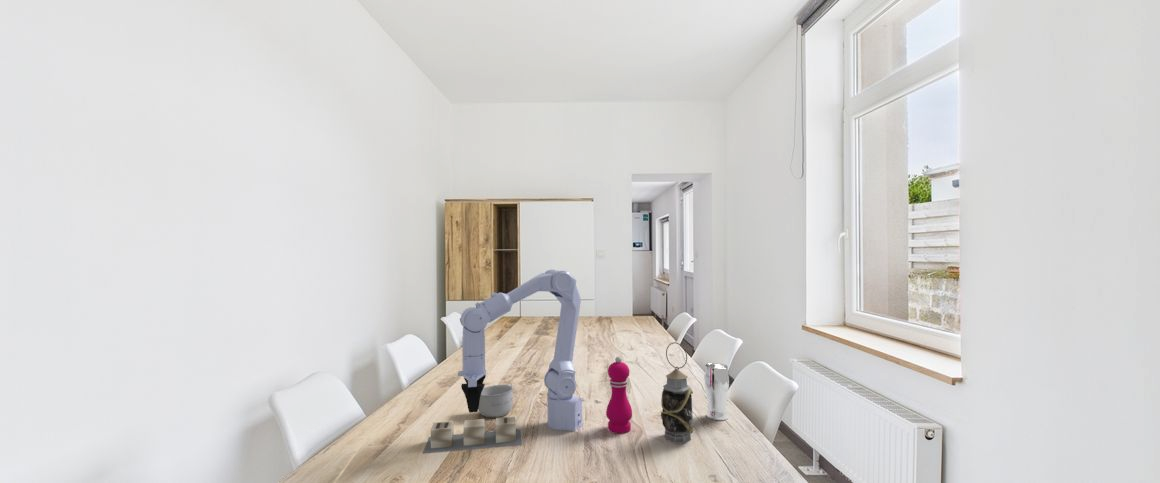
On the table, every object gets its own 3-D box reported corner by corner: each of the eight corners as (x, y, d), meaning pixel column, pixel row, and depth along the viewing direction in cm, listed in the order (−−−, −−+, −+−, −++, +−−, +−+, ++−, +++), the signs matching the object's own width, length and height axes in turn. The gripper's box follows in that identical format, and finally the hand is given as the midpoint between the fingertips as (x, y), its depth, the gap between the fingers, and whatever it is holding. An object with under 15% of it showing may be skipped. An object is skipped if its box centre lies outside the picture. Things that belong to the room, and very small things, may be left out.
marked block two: (453, 438, 118) (453, 420, 118) (451, 446, 113) (451, 428, 113) (433, 440, 117) (433, 422, 118) (430, 448, 112) (430, 429, 113)
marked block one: (515, 433, 121) (514, 416, 121) (515, 441, 116) (515, 423, 116) (496, 435, 120) (495, 417, 120) (495, 442, 115) (495, 424, 115)
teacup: (493, 425, 129) (493, 396, 130) (469, 417, 136) (469, 390, 136) (527, 411, 140) (527, 385, 141) (503, 404, 147) (503, 379, 147)
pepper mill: (631, 435, 121) (630, 360, 121) (604, 433, 122) (603, 359, 123) (633, 425, 128) (632, 354, 129) (608, 423, 130) (607, 353, 130)
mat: (520, 432, 124) (520, 429, 124) (522, 448, 114) (522, 444, 114) (429, 439, 120) (429, 436, 120) (422, 456, 110) (422, 453, 110)
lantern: (700, 438, 118) (698, 342, 119) (681, 447, 113) (680, 347, 113) (673, 429, 125) (672, 338, 125) (654, 437, 119) (653, 342, 120)
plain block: (484, 436, 120) (484, 418, 120) (484, 443, 115) (483, 426, 115) (465, 437, 119) (465, 420, 119) (463, 445, 114) (463, 427, 114)
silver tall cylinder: (726, 412, 137) (725, 363, 137) (732, 421, 130) (731, 368, 130) (703, 412, 137) (702, 362, 138) (707, 420, 131) (706, 368, 131)
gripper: (460, 349, 124) (460, 399, 123) (455, 361, 109) (455, 418, 109) (486, 347, 125) (487, 397, 125) (484, 360, 111) (485, 416, 110)
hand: (474, 407), depth 117 cm, fingers open, 6 cm apart
